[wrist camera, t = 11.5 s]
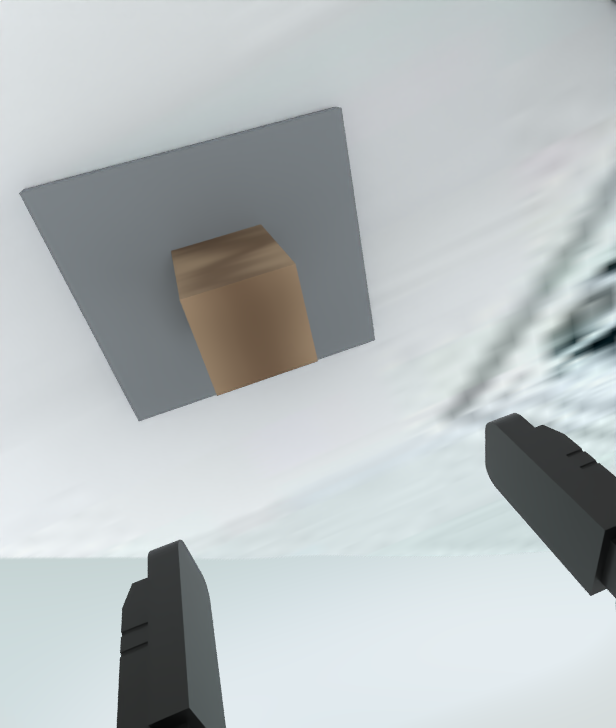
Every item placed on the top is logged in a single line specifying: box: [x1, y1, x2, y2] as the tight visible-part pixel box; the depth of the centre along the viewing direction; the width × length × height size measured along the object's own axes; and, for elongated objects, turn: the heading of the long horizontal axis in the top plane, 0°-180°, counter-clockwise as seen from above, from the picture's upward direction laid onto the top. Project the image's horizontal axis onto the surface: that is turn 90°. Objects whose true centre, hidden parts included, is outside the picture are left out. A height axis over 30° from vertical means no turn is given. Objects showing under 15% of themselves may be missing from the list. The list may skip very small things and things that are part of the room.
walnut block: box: [171, 224, 318, 396], centre depth 24 cm, size 5×5×7 cm
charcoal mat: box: [19, 107, 375, 421], centre depth 27 cm, size 16×14×1 cm
